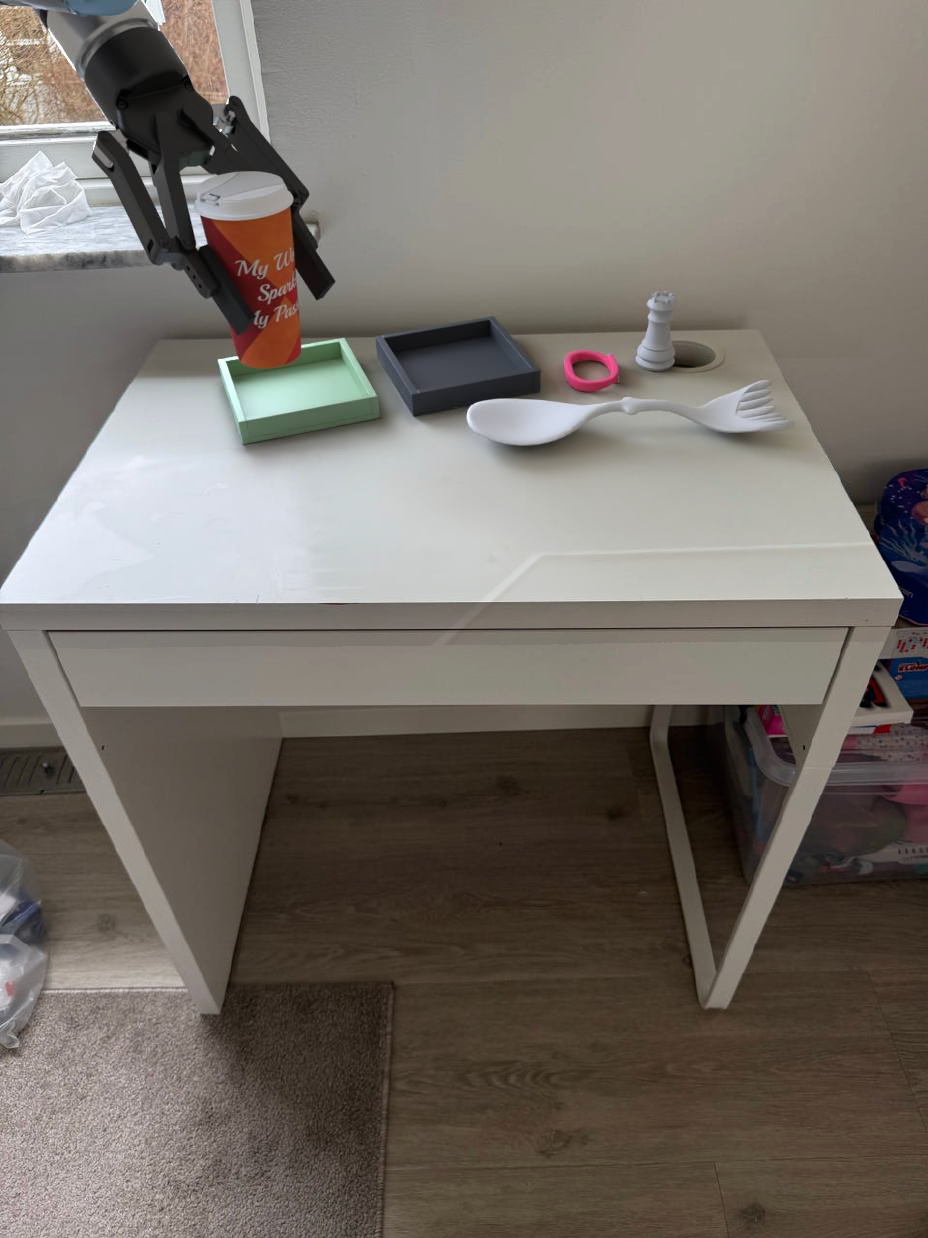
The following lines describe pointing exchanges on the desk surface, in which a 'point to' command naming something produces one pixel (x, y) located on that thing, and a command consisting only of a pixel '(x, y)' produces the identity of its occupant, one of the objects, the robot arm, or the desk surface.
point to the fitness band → (586, 384)
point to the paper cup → (256, 259)
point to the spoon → (556, 419)
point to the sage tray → (299, 393)
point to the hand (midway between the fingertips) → (287, 307)
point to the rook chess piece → (658, 334)
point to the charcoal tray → (456, 365)
